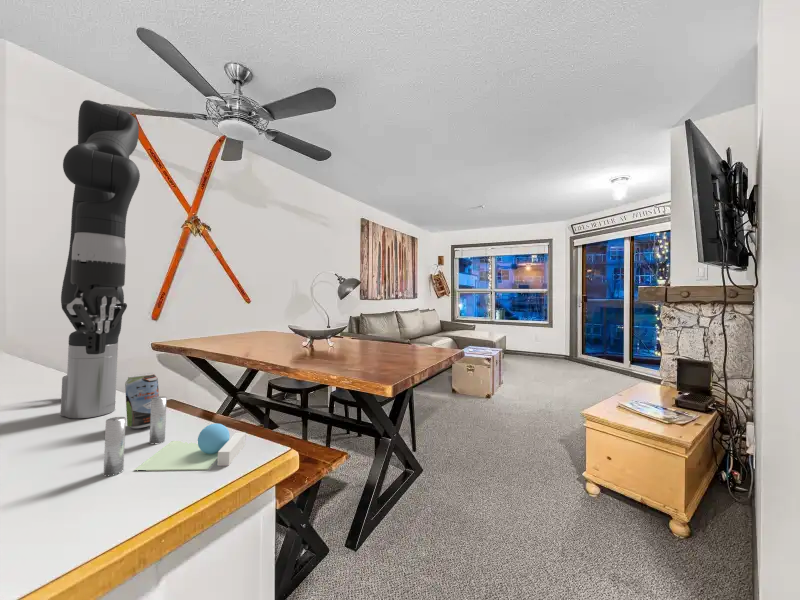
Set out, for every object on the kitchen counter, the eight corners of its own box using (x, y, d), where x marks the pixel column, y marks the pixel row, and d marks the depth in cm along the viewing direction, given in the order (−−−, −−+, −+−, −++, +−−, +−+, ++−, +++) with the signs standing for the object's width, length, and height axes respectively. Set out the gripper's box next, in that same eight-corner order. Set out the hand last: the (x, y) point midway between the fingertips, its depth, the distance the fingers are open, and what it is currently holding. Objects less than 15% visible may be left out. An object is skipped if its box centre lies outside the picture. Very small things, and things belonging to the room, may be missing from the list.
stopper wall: (217, 465, 62) (217, 451, 62) (235, 444, 70) (235, 432, 71) (228, 465, 62) (229, 451, 62) (245, 444, 71) (245, 432, 71)
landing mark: (133, 471, 59) (133, 470, 59) (171, 442, 70) (172, 441, 70) (207, 469, 60) (207, 468, 60) (232, 441, 72) (232, 440, 72)
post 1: (99, 476, 56) (101, 422, 56) (110, 468, 59) (113, 416, 59) (116, 476, 57) (118, 422, 57) (127, 468, 59) (129, 416, 59)
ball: (205, 423, 64) (229, 439, 64) (216, 414, 69) (239, 429, 70) (185, 448, 63) (210, 464, 64) (198, 437, 69) (221, 452, 69)
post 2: (146, 444, 69) (148, 399, 69) (154, 439, 72) (156, 396, 72) (160, 444, 69) (162, 399, 69) (167, 439, 72) (169, 396, 72)
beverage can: (142, 433, 74) (144, 378, 74) (114, 429, 76) (117, 375, 76) (167, 423, 80) (169, 372, 80) (141, 419, 82) (143, 369, 82)
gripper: (104, 263, 69) (100, 348, 69) (44, 254, 56) (39, 359, 56) (143, 265, 70) (140, 349, 70) (94, 257, 57) (89, 360, 57)
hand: (95, 353), depth 63 cm, fingers closed
